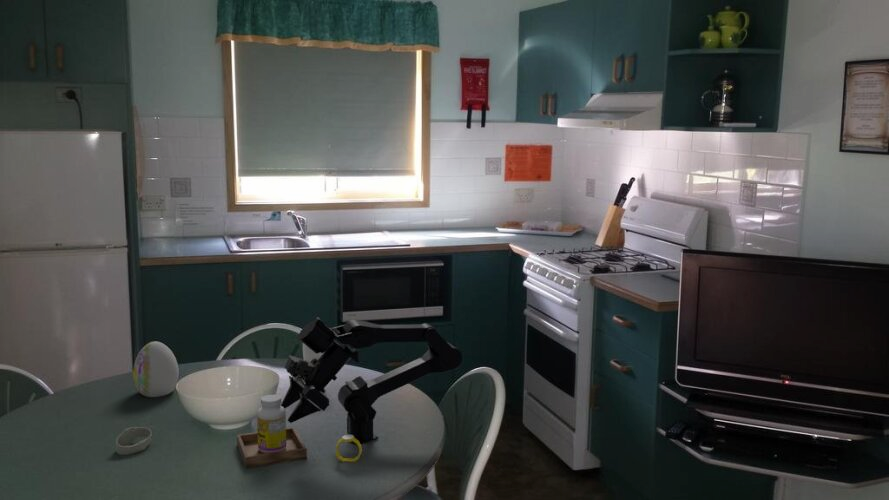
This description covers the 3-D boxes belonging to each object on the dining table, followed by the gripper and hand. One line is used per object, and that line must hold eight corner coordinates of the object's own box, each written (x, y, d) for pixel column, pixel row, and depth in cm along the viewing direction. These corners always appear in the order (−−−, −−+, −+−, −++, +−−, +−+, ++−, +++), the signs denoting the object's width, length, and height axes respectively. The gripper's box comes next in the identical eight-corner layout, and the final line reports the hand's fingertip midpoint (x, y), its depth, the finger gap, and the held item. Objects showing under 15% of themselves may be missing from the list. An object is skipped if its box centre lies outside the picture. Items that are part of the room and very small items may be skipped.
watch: (335, 464, 191) (333, 439, 190) (337, 459, 193) (335, 435, 192) (361, 462, 190) (359, 438, 189) (363, 457, 193) (360, 433, 192)
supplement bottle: (255, 446, 198) (253, 395, 196) (282, 441, 200) (281, 391, 198) (261, 457, 192) (259, 404, 190) (289, 452, 194) (288, 400, 192)
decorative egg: (135, 387, 240) (132, 337, 237) (179, 383, 243) (177, 334, 241) (133, 401, 228) (129, 349, 226) (179, 397, 232) (176, 346, 229)
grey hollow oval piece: (142, 439, 203) (141, 420, 203) (159, 445, 200) (158, 425, 199) (109, 452, 196) (108, 432, 195) (126, 458, 192) (125, 438, 192)
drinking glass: (325, 392, 237) (324, 341, 235) (301, 391, 237) (300, 341, 235) (328, 384, 244) (328, 335, 241) (306, 383, 244) (304, 334, 241)
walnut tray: (294, 436, 205) (294, 427, 205) (306, 458, 192) (306, 448, 192) (237, 444, 200) (236, 434, 200) (245, 468, 187) (245, 457, 187)
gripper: (296, 334, 204) (253, 383, 201) (313, 355, 186) (266, 409, 184) (328, 361, 208) (286, 408, 206) (348, 384, 191) (303, 436, 189)
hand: (285, 414), depth 196 cm, fingers open, 9 cm apart
